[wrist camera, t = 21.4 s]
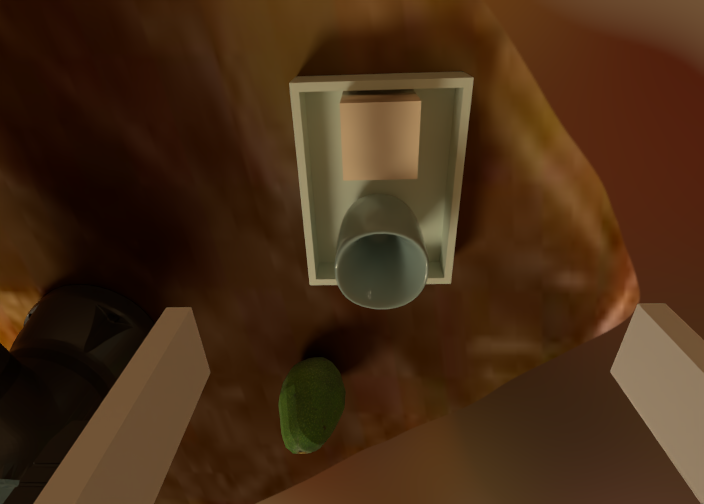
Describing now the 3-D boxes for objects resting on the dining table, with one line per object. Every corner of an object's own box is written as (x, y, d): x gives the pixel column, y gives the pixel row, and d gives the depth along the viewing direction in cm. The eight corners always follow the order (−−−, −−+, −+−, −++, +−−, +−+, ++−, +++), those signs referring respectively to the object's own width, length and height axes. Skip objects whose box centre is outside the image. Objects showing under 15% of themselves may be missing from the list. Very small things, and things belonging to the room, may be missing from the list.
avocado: (274, 365, 53) (253, 450, 43) (314, 333, 50) (301, 416, 40) (319, 395, 56) (309, 481, 46) (360, 367, 53) (358, 452, 43)
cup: (340, 181, 39) (333, 227, 31) (420, 183, 39) (436, 231, 31) (339, 250, 43) (333, 309, 35) (412, 253, 43) (424, 312, 34)
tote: (313, 264, 45) (309, 285, 42) (296, 76, 35) (289, 83, 32) (444, 262, 45) (450, 283, 41) (463, 71, 35) (473, 77, 31)
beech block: (346, 158, 38) (343, 180, 33) (343, 90, 35) (339, 103, 30) (410, 156, 38) (417, 179, 33) (412, 88, 35) (421, 101, 30)
